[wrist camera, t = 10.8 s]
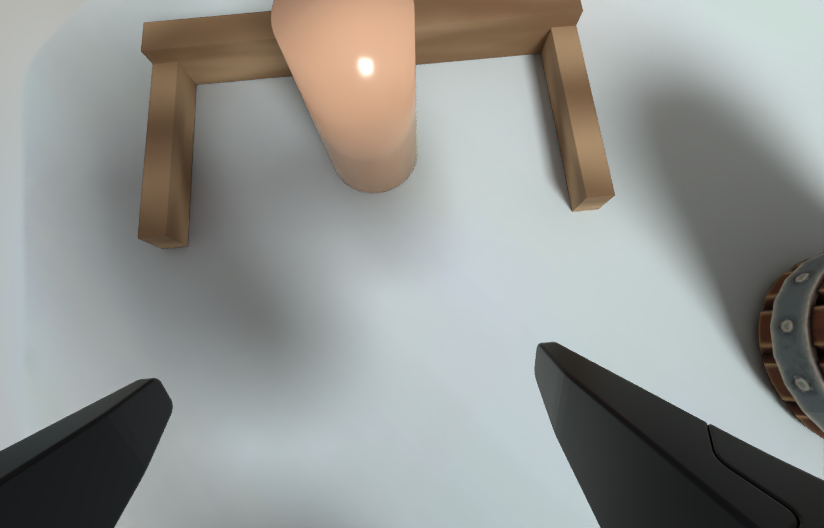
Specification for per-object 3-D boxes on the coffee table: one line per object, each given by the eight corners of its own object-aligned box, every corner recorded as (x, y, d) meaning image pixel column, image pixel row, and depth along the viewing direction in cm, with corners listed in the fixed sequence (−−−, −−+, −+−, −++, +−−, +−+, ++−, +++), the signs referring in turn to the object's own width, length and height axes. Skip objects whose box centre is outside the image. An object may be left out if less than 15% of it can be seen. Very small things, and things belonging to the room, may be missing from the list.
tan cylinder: (420, 188, 23) (420, 65, 13) (334, 196, 23) (271, 79, 13) (413, 112, 24) (408, -51, 15) (330, 120, 24) (270, -39, 15)
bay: (598, 209, 22) (624, 186, 20) (162, 248, 22) (123, 232, 20) (558, 25, 26) (576, -17, 23) (175, 60, 26) (143, 22, 23)
